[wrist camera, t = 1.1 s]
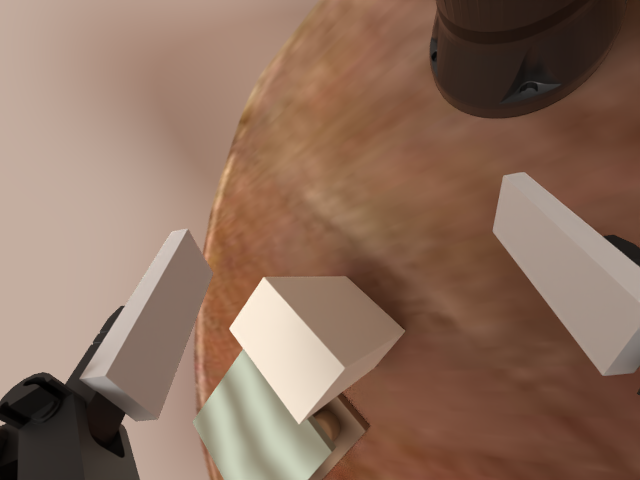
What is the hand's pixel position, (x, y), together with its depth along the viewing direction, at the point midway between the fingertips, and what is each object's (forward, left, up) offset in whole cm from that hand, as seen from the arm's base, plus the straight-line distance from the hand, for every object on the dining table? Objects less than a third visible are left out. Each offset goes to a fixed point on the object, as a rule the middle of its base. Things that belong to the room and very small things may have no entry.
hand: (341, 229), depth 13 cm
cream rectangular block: (+11, -2, -22) cm, 24 cm away
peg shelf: (+27, -2, -22) cm, 34 cm away
